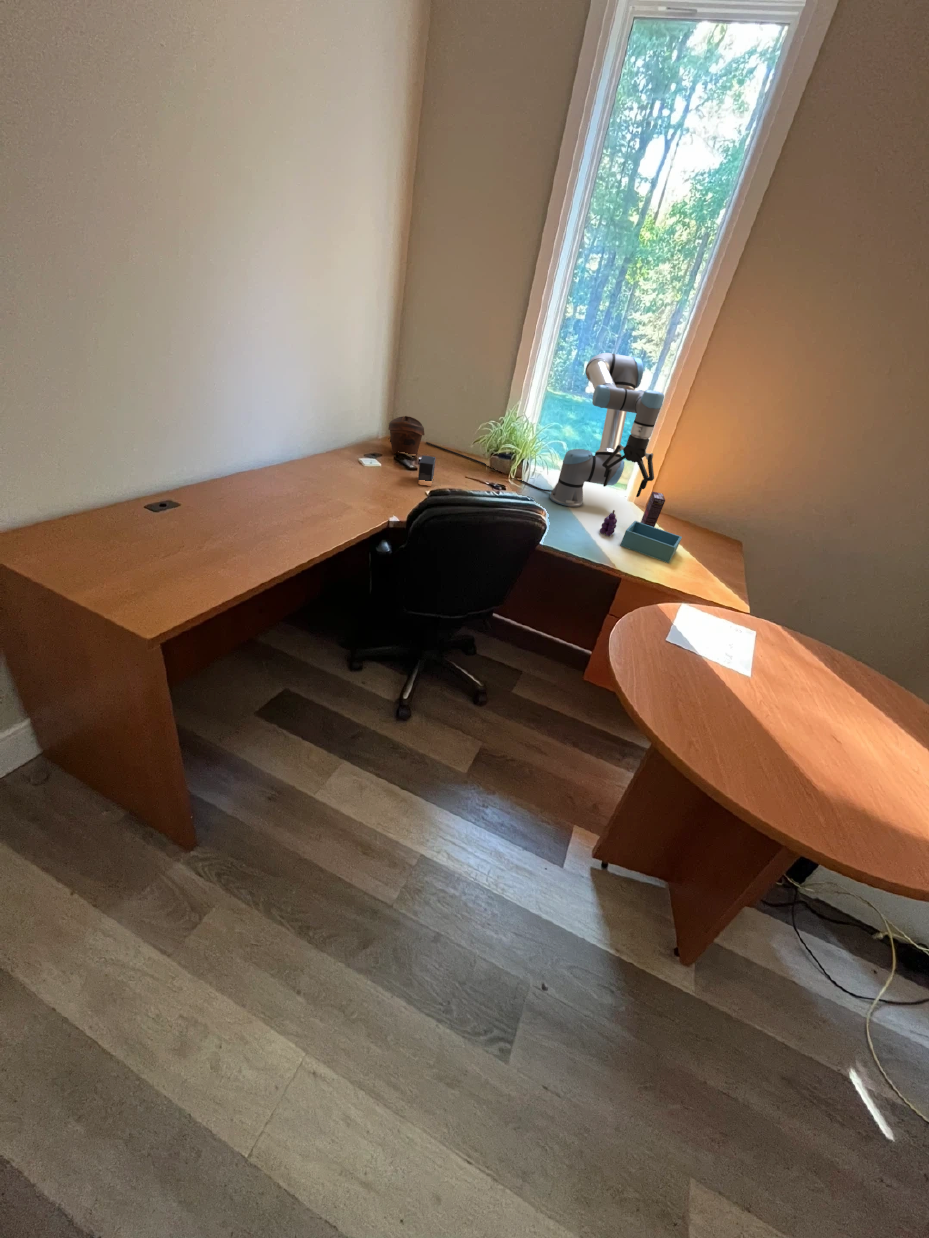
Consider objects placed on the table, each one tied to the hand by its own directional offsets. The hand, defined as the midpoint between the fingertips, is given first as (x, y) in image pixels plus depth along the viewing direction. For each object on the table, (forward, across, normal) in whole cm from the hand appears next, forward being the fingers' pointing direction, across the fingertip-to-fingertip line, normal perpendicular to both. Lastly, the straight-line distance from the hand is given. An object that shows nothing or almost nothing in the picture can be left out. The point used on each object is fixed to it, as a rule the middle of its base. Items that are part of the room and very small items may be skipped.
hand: (621, 491), depth 194 cm
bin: (+19, +18, 0) cm, 26 cm away
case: (+19, -113, +9) cm, 115 cm away
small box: (+19, -83, -15) cm, 86 cm away
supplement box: (+19, +12, +19) cm, 29 cm away
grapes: (+19, 0, 0) cm, 19 cm away
